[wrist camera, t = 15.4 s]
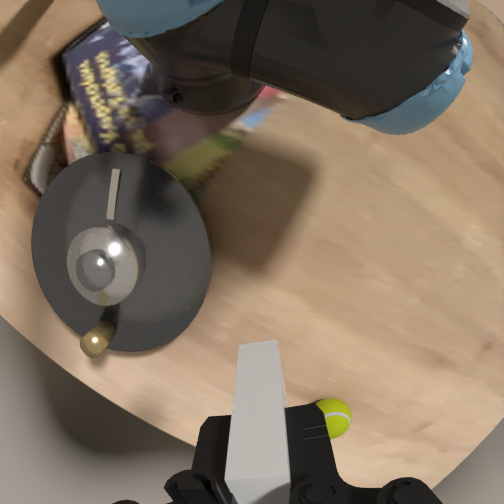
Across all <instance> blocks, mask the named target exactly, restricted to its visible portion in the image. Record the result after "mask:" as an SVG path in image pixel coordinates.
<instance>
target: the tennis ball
mask: <svg viewBox="0 0 504 504" xmlns="http://www.w3.org/2000/svg"><path fill="white" fill-rule="evenodd" d="M316 405H317V406H318V407H319V408H320V409H321V410H322V411H323V412H324V416H325V420H326V425H327V429H328V433H329V437H330V439H333V438H337V437H339V436H341V435H342V434H344V433H345V432H346V430H347V429H348V427H349V426H350V423H351V417H352V416H351V411H350V409H349V407H348V405H347V404H346V403H345V402H343V401H342V400H339V399H336V398H326V399H322V400H320V401H319V402H317V403H316Z"/></svg>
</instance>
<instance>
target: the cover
mask: <svg viewBox="0 0 504 504" xmlns="http://www.w3.org/2000/svg"><path fill="white" fill-rule="evenodd" d="M67 269H68V273H69V276H70V279H71V281H72V283H73V285H74V287H75V288H76V290H77V291H78V292H79V293H80V294H81V295H82V296H83V297H84V298H85V299H87V300H88V301H90V302H92V303H94V304H97V305H101V306H111V305H115V304H117V303H119V302H121V301H122V300H124V299H125V298H126V297H127V296H128V295H129V294H130V293H131V292H132V291H133V290H134V289H135V288H136V287H137V286H138V285H139V284H140V282H141V281H142V279H143V277H144V274H145V271H146V255H145V251H144V248H143V246H142V243H141V242H140V240H139V239H138V237H137V236H136V235H135V234H134V233H133V232H132V231H131V230H130V229H128V228H127V227H125V226H123V225H121V224H117V223H104V224H101V225H98V226H96V227H93V228H90V229H87V230H84V231H82V232H81V233H79V234H78V235H77V236H76V237H75V238H74V239H73V241H72V242H71V244H70V246H69V249H68V253H67Z"/></svg>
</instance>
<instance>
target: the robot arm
mask: <svg viewBox="0 0 504 504" xmlns="http://www.w3.org/2000/svg"><path fill="white" fill-rule="evenodd" d="M96 1H97V4H98V6H99V9H100V11H101V12H102V13H103V15H104V16H105V18H106V19H107V20H108V22H109V25H110V26H111V28H112V29H114V30H115V31H116V33H119V34H120V35H123V36H124V37H125V38H126V39H127V40H128V41H129V42H130V43H131V44H132V45H133V46H134V47H135V48H136V49H137V50H138V51H139V52H140V53H141V54H142V55H143V56H144V57H145V58H146V59H147V60H148V61H149V65H150V74H151V77H152V80H153V82H154V85H155V86H156V88H157V90H158V91H159V92H160V94H161V95H162V96H163V97H164V98H165V99H166V100H168V101H169V102H170V103H171V104H173V105H174V106H176V107H177V108H179V109H181V110H183V111H186V112H188V113H192V114H197V115H219V114H224V113H228V112H231V111H234V110H236V109H239V108H241V107H243V106H244V105H246V104H247V103H249V102H250V101H252V100H253V99H254V98H255V97H256V96H257V95H258V94H259V93H260V92H261V91H262V90H263V88H264V87H265V85H266V86H269V87H272V88H275V89H278V90H281V91H283V92H286V93H289V94H292V95H294V96H297V97H300V98H302V99H305V100H307V101H310V102H312V103H315V104H317V105H320V106H322V107H325V108H327V109H329V110H332V111H334V112H336V113H339V114H340V115H341V117H342V118H344V119H346V120H348V121H350V122H355V123H361V124H364V125H366V126H368V127H371V128H373V129H375V130H377V131H379V132H382V133H384V134H390V135H392V134H393V135H405V134H409V133H412V132H415V131H417V130H419V129H421V128H423V127H425V126H427V125H428V124H430V123H431V122H433V121H434V120H435V119H436V118H438V117H439V116H440V115H441V114H442V113H443V112H444V111H445V110H446V109H447V108H448V107H449V106H450V105H451V103H452V102H453V101H454V100H455V98H456V97H457V96H458V94H459V92H460V91H461V89H462V87H463V86H464V84H465V78H464V77H463V76H464V75H465V74H466V73H467V72H468V71H470V69H471V65H472V60H473V51H472V45H471V43H470V40H469V39H468V37H467V36H466V34H465V32H464V31H463V30H462V29H463V27H464V26H465V24H466V23H467V21H468V20H469V18H470V16H471V13H470V10H469V6H468V3H467V0H96ZM164 489H165V490H166V492H167V493H168V494H169V496H170V497H171V498H172V500H173V502H171V503H167V504H443V503H442V502H441V501H440V500H439V499H438V498H437V496H436V495H435V494H434V493H433V492H432V491H431V489H430V488H429V487H428V486H427V485H426V484H425V483H423V482H422V481H421V480H419V479H415V478H412V477H405V478H398V479H395V480H393V481H390V482H389V483H388V484H386V485H385V486H383V487H382V488H360V487H355V486H352V485H349V484H348V483H346V482H345V481H343V480H342V479H341V477H340V476H339V474H338V472H337V468H336V464H335V459H334V455H333V450H332V446H331V442H330V437H329V433H328V429H327V425H326V420H325V416H324V412H323V411H322V410H321V409H320V408H319V407H318V406H317V405H316V404H315V403H312V404H307V405H301V406H295V407H288V408H287V401H286V391H285V385H284V379H283V373H282V367H281V361H280V355H279V350H278V344H277V339H274V340H268V341H261V342H254V343H247V344H240V345H239V353H238V362H237V371H236V380H235V389H234V398H233V407H232V415H225V416H210V417H208V418H207V419H206V421H205V422H204V423H203V425H202V426H201V427H200V432H199V436H198V441H197V446H196V451H195V455H194V460H193V464H192V469H191V470H184V471H181V472H179V473H177V474H174V475H173V476H172V477H171V478H170V479H168V480H167V482H166V484H165V486H164ZM113 504H139V503H137V502H135V501H131V500H122V501H118V502H115V503H113Z"/></svg>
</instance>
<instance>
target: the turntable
mask: <svg viewBox="0 0 504 504" xmlns="http://www.w3.org/2000/svg"><path fill="white" fill-rule="evenodd" d="M104 223H117V224H121V225H123V226H125V227H127V228H128V229H130V230H131V231H132V232H133V233H134V234H135V235H136V236H137V237H138V239H139V240H140V242H141V243H142V246H143V248H144V251H145V255H146V271H145V274H144V277H143V279H142V281H141V282H140V284H139V285H138V286H137V287H136V288H135V289H134V290H133V291H132V292H131V293H130V294H129V295H128V296H127V297H126V298H125V299H124V300H122V301H121V302H119V303H117V304H115V305H111V306H101V305H97V304H94V303H92V302H90V301H88V300H87V299H85V298H84V297H83V296H82V295H81V294H80V293H79V292H78V291H77V290H76V288H75V287H74V285H73V283H72V281H71V279H70V276H69V273H68V269H67V253H68V249H69V246H70V244H71V242H72V241H73V239H74V238H75V237H76V236H77V235H78V234H79V233H81V232H82V231H84V230H87V229H90V228H93V227H96V226H98V225H101V224H104ZM31 244H32V257H33V263H34V268H35V272H36V275H37V278H38V281H39V284H40V286H41V289H42V291H43V293H44V295H45V297H46V298H47V300H48V302H49V303H50V305H51V306H52V308H53V309H54V311H55V312H56V313H57V314H58V316H59V317H60V318H61V319H62V320H63V321H64V322H65V323H66V324H67V325H68V326H69V327H70V328H71V329H73V330H74V331H75V332H76V333H78V334H79V335H81V336H82V337H83V338H82V339H81V340H80V347H81V349H82V351H83V352H84V353H85V354H86V355H87V356H89V357H92V358H96V357H98V356H99V355H100V354H101V353H102V351H103V350H104V349H105V348H109V349H113V350H117V351H127V352H134V351H144V350H150V349H153V348H156V347H159V346H161V345H164V344H166V343H168V342H169V341H171V340H173V339H174V338H175V337H177V336H178V335H180V334H181V333H182V332H183V331H184V330H185V329H186V328H187V327H188V326H189V324H190V323H191V322H192V321H193V319H194V318H195V316H196V315H197V313H198V311H199V309H200V307H201V306H202V303H203V301H204V298H205V296H206V293H207V290H208V288H209V283H210V279H211V273H212V262H213V261H212V245H211V239H210V234H209V230H208V227H207V224H206V220H205V218H204V216H203V214H202V211H201V209H200V207H199V205H198V204H197V202H196V200H195V199H194V197H193V195H192V194H191V193H190V191H189V190H188V189H187V188H186V186H185V185H184V184H183V183H182V182H181V181H180V180H179V179H178V178H177V177H176V176H175V175H174V174H173V173H171V172H170V171H168V170H167V169H166V168H164V167H163V166H161V165H159V164H158V163H156V162H154V161H152V160H150V159H147V158H144V157H141V156H138V155H133V154H127V153H121V152H104V153H97V154H93V155H89V156H86V157H83V158H81V159H79V160H77V161H75V162H73V163H72V164H70V165H69V166H67V167H66V168H64V169H63V170H62V171H61V172H60V173H59V174H58V175H57V176H56V177H55V178H54V179H53V181H52V182H51V183H50V184H49V186H48V187H47V189H46V190H45V192H44V194H43V195H42V197H41V200H40V202H39V204H38V207H37V210H36V213H35V217H34V221H33V227H32V239H31Z"/></svg>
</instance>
